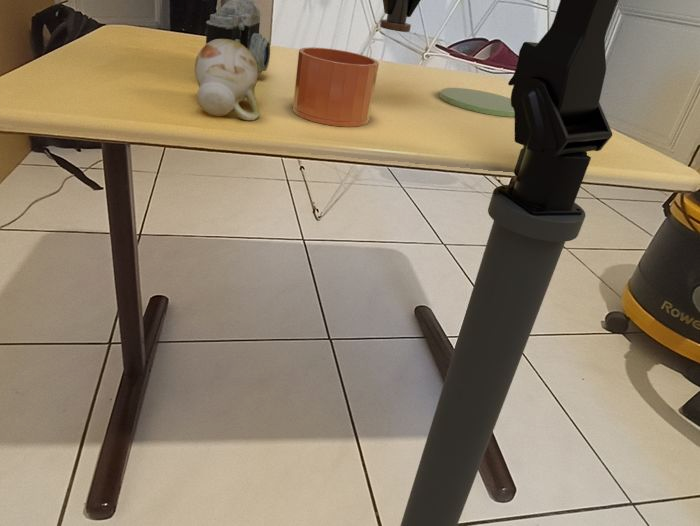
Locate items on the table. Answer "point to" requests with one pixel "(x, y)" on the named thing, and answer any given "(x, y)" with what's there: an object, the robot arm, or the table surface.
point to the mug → (226, 78)
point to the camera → (240, 29)
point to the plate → (478, 101)
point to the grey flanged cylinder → (397, 17)
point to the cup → (334, 86)
